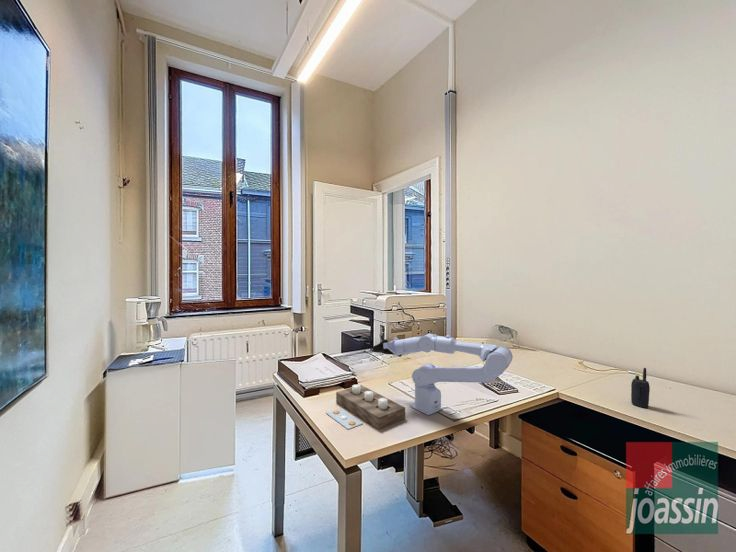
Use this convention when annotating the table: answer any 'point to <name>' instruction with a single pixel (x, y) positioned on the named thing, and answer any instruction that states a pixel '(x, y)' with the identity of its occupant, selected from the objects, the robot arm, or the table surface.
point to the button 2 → (382, 404)
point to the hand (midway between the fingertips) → (378, 350)
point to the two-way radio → (640, 391)
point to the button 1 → (356, 389)
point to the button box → (371, 407)
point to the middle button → (368, 396)
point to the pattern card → (344, 418)
